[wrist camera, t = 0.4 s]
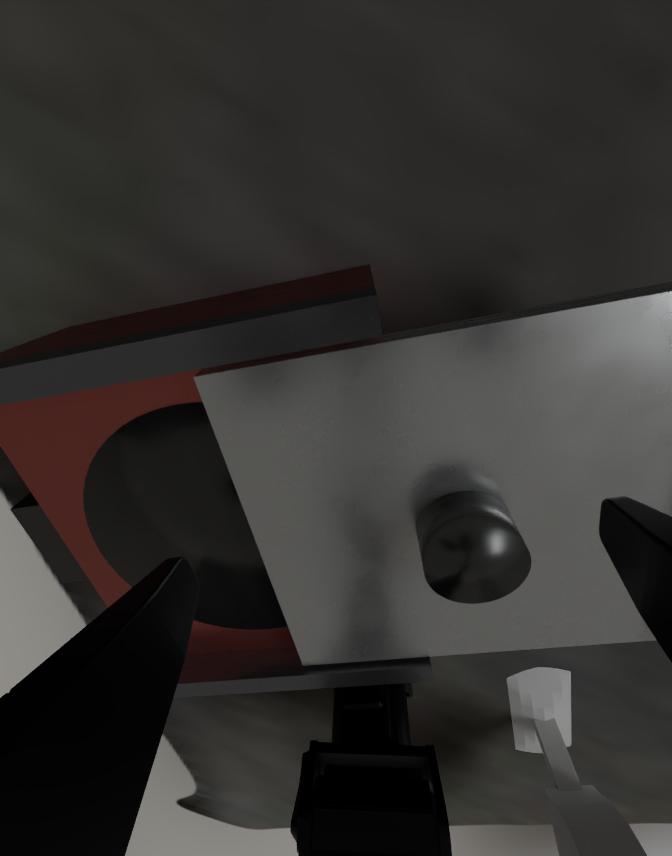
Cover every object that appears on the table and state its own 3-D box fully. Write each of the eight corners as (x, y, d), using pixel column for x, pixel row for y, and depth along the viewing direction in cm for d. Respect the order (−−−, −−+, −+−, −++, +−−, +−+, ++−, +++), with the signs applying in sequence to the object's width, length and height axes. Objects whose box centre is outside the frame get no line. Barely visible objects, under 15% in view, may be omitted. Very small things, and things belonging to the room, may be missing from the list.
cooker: (412, 552, 27) (433, 681, 20) (163, 579, 30) (96, 702, 22) (369, 264, 19) (376, 294, 11) (30, 334, 21) (-151, 398, 14)
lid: (648, 583, 20) (728, 683, 16) (309, 613, 23) (297, 708, 18) (719, 257, 13) (896, 276, 9) (221, 350, 16) (167, 401, 11)
